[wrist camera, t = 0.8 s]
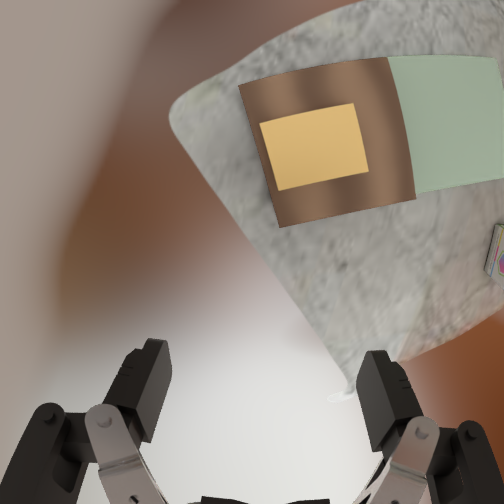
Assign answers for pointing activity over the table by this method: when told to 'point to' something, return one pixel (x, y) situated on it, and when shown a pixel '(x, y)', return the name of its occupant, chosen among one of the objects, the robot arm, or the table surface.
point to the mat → (451, 118)
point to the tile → (315, 146)
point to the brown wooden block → (371, 127)
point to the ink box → (496, 256)
